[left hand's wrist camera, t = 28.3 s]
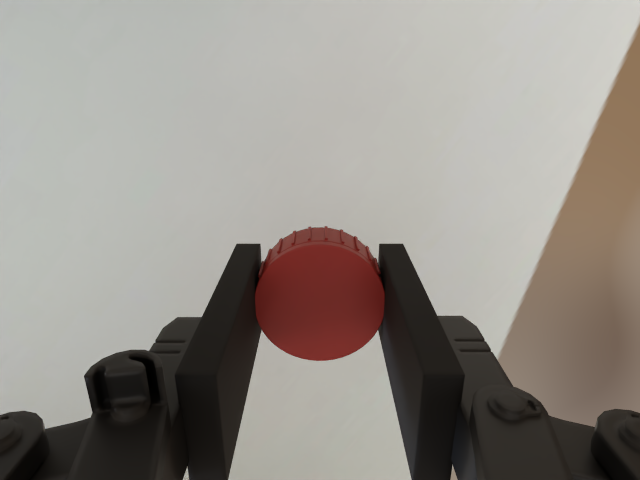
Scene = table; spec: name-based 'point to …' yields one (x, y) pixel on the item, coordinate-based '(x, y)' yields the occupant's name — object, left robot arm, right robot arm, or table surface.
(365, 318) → the cap
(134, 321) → the table surface
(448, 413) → the left robot arm
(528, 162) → the table surface
